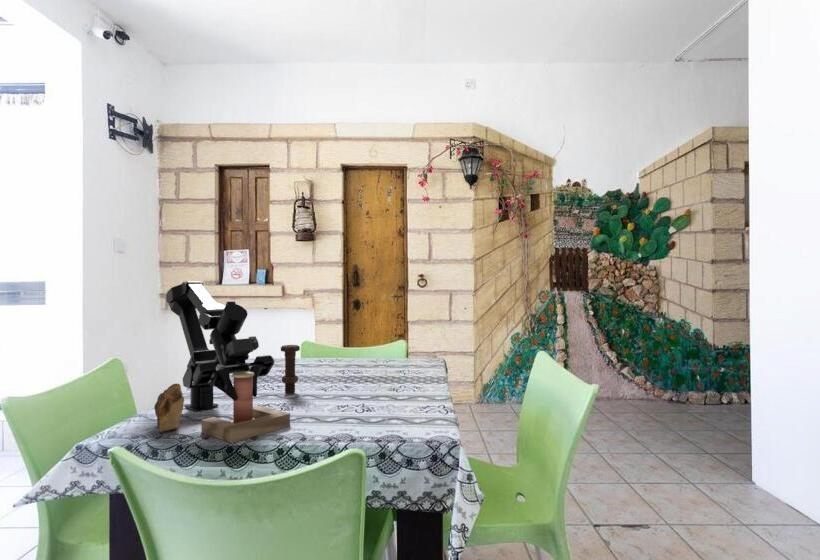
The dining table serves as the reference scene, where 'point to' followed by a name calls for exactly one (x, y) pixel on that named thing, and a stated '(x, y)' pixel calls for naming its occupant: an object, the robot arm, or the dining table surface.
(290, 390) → the bolt
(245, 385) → the bobbin
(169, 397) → the decorative rock
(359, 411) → the dining table surface
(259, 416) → the notch board
